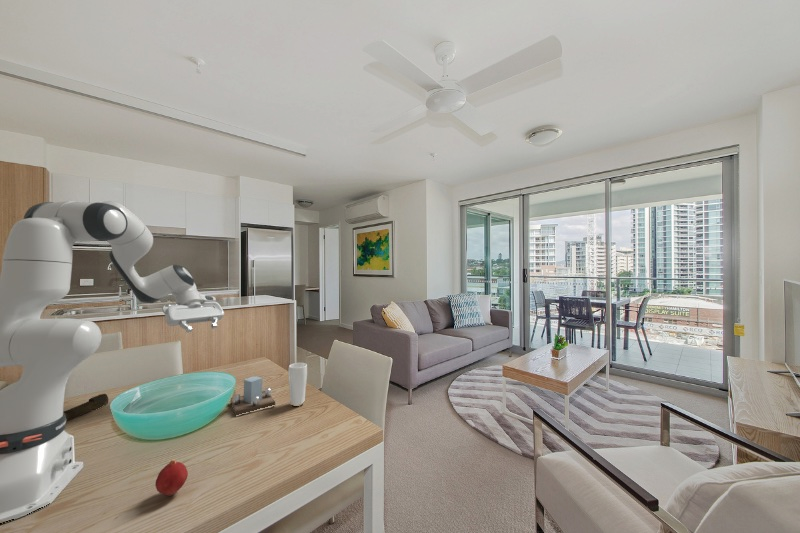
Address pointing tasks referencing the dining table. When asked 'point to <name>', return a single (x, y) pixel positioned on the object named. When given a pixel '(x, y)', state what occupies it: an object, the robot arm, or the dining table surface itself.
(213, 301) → the robot arm
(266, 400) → the peg board
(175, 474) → the onion
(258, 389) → the block
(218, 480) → the dining table surface
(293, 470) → the dining table surface
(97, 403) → the rusty brown artillery shell
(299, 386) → the drinking glass
